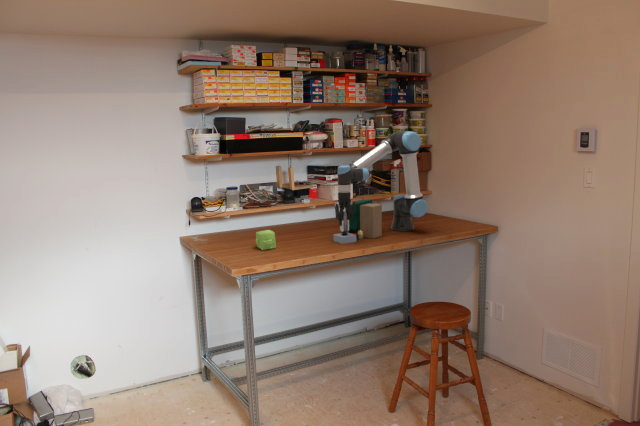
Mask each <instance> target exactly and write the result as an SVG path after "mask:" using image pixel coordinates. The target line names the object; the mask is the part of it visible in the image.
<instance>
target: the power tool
mask: <svg viewBox="0 0 640 426" xmlns="http://www.w3.org/2000/svg"><path fill="white" fill-rule="evenodd" d="M354 202H355V204H354V209H353V218H351V220H350V225H349V231H347V233H351V234H354V235H356V236H358V230H360V205H364V204H368V203H371V204H376V203H375V202H374V201H373V199H364V198H363V199H358V200H355V201H354ZM349 211H350V204H349Z"/></svg>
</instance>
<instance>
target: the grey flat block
mask: <svg viewBox="0 0 640 426" xmlns="http://www.w3.org/2000/svg"><path fill="white" fill-rule="evenodd" d="M332 237H333V242H335V243H338V244H341V245H343V244H350V243H351V244H352V243H357V235H354V234H351V233H348V232H347V235H342V232H341V233H333V236H332Z"/></svg>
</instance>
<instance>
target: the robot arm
mask: <svg viewBox="0 0 640 426" xmlns="http://www.w3.org/2000/svg"><path fill="white" fill-rule="evenodd" d="M421 145H422V139H421V137H420V135H419V134H418V133H417V132H415V131H410V130H409V131H408V130H406V131H403V130H402V131H396V132H394V133H392V134H390V135H388V136H387V137H386V138H384V139H383V140H382V141H381V143H380V144H378V145H377V146H375V147H374V148H373V149H371V150H370V151H368V152H367V153H365V154H364V155H362V156H361V157H359V158H358V159H356V160H355V161H354V162H352V163H351V164H349V165H339V166H337V172H336V173H337V202H335V203H333V206H334V210H335V211H334V212H335V220H338V226H339V231H340V232H342V231H344V225H343V220H342V218H343V211H346V212H347V232H348V231H349V225H350V220H351V218H353V209H354V204H355V201H352V200H351V197H352V196H351V190H352V189H351V182H360V181H361V182H364V181H367V180H369V177H370V172H369V169H368V168H369V167H371V166H372V165H373V164H375V163H377V161H379V160H381V159H382V158H384V157H385V156H386V155H388V154H392V153H393V152H396V151H398V153H399V155H400V157H402V164H403V176H404V183H405V184H404V185H405V192H406V194H396V195H394V196H393V200H392V201H393V218H392V222H391V225H390V230H392V231H396V232H409V231H410V232H412V231H413V230H415V225H414V222H413V221H414V220H413V219H412V217H413V218H422V217H423V216H424V215H425V214H426V213H427V210H428V208H429V207H428V206H429V205H428V203H427V201H426V200H425V199H424V195H423V193H421V188H420V179H419V168H418V161H417V160H418V159H417V154H419V149H420V147H421ZM349 204H350V211H349Z"/></svg>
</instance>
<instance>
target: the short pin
mask: <svg viewBox="0 0 640 426" xmlns="http://www.w3.org/2000/svg"><path fill="white" fill-rule="evenodd" d="M357 239H358V240H364V237H363V230H358V235H357Z"/></svg>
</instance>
